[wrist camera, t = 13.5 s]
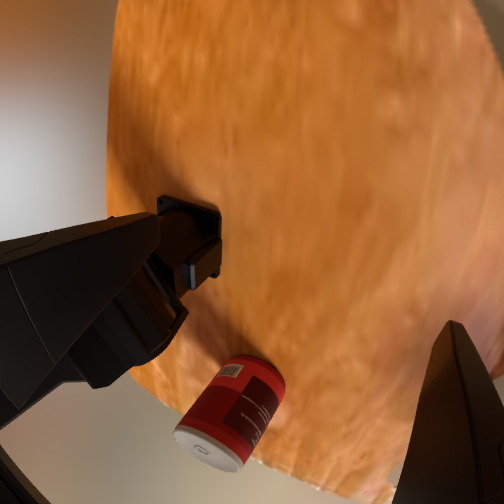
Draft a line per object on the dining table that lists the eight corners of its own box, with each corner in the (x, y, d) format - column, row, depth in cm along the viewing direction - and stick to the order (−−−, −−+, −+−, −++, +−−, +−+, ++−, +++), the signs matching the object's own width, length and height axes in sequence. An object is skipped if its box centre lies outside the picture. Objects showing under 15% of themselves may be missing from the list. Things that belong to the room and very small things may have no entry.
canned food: (220, 374, 38) (169, 440, 30) (235, 341, 33) (174, 420, 25) (273, 406, 37) (229, 478, 28) (298, 379, 32) (249, 466, 23)
